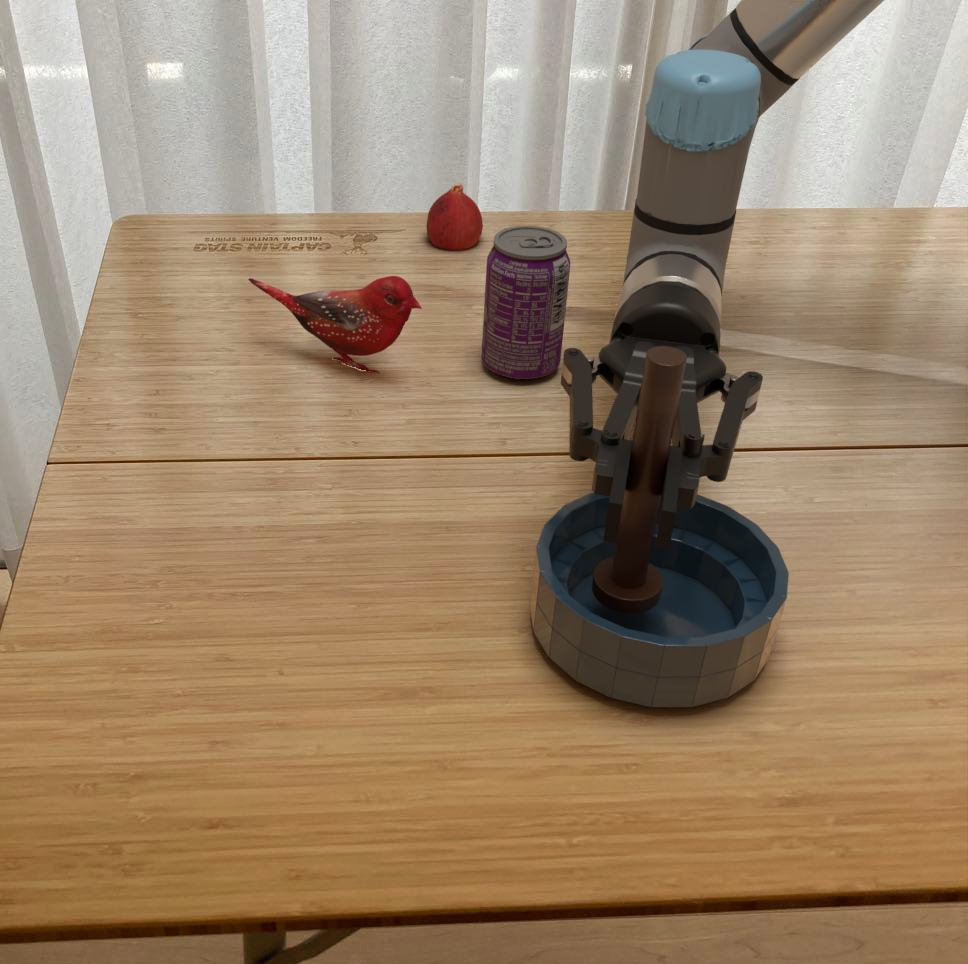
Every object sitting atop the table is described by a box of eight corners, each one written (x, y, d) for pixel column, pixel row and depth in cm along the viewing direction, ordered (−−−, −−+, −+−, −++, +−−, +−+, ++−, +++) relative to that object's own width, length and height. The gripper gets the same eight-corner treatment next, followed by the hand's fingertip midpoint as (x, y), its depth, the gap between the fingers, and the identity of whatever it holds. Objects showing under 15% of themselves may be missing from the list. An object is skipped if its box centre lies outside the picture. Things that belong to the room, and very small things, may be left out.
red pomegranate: (439, 273, 115) (441, 198, 110) (417, 251, 119) (418, 178, 114) (489, 264, 117) (494, 189, 112) (466, 242, 121) (469, 170, 116)
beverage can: (548, 344, 104) (560, 221, 96) (568, 383, 98) (583, 255, 91) (473, 349, 103) (480, 225, 95) (490, 389, 97) (498, 260, 90)
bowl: (774, 579, 78) (793, 511, 74) (759, 741, 66) (781, 671, 62) (556, 535, 81) (564, 468, 78) (505, 683, 70) (511, 612, 66)
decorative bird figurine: (412, 396, 96) (414, 290, 90) (244, 346, 102) (234, 243, 96) (428, 381, 98) (430, 276, 92) (262, 333, 104) (253, 232, 98)
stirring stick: (664, 577, 73) (711, 343, 62) (655, 620, 69) (702, 381, 59) (598, 563, 74) (632, 330, 63) (585, 605, 70) (620, 368, 60)
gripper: (765, 389, 80) (766, 600, 62) (555, 361, 83) (499, 557, 65) (788, 294, 76) (796, 492, 58) (565, 268, 78) (507, 451, 60)
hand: (639, 526), depth 61 cm, fingers closed on stirring stick, 2 cm apart
